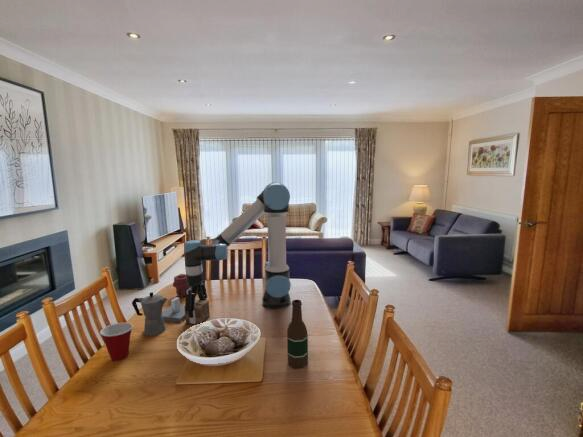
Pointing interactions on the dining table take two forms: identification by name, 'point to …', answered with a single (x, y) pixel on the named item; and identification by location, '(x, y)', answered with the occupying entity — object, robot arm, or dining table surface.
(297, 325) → the beer bottle
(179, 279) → the mechanical component
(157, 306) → the coffeepot
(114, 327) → the plastic cup
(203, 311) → the cardboard box
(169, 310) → the shaft stand
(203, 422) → the dining table surface
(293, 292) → the dining table surface
